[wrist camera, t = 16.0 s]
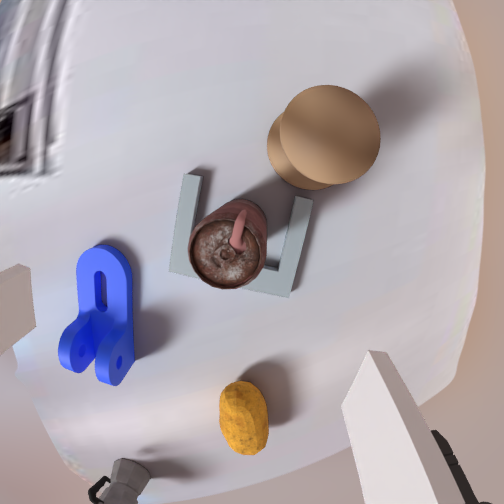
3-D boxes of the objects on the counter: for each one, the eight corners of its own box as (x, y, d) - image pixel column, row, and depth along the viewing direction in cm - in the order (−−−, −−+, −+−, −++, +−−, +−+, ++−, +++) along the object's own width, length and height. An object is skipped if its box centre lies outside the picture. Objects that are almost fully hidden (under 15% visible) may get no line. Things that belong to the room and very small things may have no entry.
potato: (228, 431, 45) (223, 461, 38) (216, 369, 41) (208, 400, 34) (269, 431, 44) (269, 462, 37) (266, 368, 41) (265, 400, 34)
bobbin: (276, 98, 31) (281, 61, 20) (358, 119, 31) (399, 96, 20) (259, 178, 34) (254, 180, 22) (341, 198, 34) (377, 210, 22)
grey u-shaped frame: (187, 173, 34) (183, 173, 33) (311, 199, 34) (313, 200, 33) (172, 268, 37) (168, 271, 36) (288, 293, 37) (288, 298, 36)
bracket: (135, 360, 42) (112, 395, 33) (90, 347, 42) (63, 377, 33) (133, 249, 37) (99, 270, 28) (83, 240, 37) (44, 257, 29)
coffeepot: (162, 484, 52) (145, 541, 34) (132, 482, 53) (112, 534, 36) (127, 447, 48) (98, 510, 31) (97, 445, 49) (67, 500, 32)
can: (273, 203, 35) (276, 222, 21) (259, 254, 36) (254, 302, 23) (222, 190, 35) (194, 201, 21) (210, 241, 36) (178, 281, 23)
